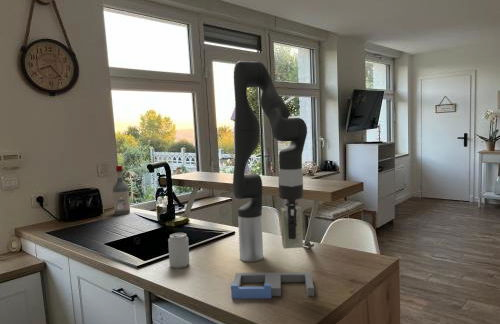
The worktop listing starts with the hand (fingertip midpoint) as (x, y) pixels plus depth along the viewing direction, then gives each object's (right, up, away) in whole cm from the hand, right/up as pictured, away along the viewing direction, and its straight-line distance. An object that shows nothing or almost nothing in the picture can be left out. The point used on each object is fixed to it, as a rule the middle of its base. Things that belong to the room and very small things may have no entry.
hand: (291, 235), depth 117 cm
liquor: (-93, -9, +116) cm, 149 cm away
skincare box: (0, -4, 0) cm, 4 cm away
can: (-40, -16, +24) cm, 49 cm away
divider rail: (-6, -17, +1) cm, 18 cm away
